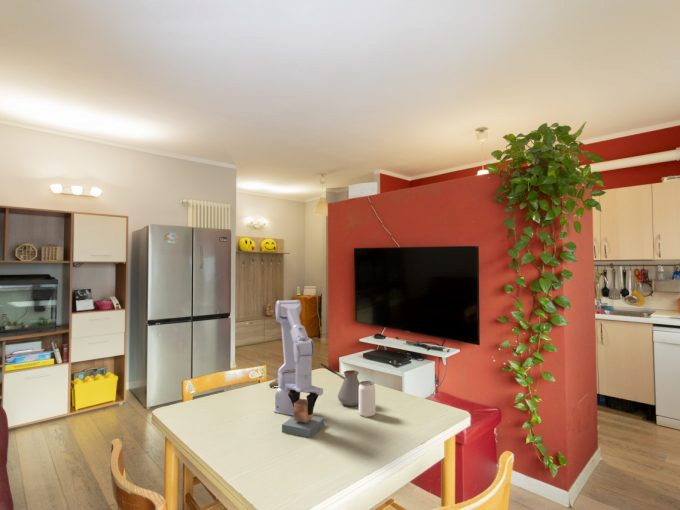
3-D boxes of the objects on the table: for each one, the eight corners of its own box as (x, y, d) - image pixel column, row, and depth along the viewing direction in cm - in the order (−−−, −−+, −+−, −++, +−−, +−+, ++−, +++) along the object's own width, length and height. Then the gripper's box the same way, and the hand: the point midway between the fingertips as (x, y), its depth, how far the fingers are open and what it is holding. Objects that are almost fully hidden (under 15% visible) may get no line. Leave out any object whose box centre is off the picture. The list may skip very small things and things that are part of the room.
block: (293, 420, 129) (293, 403, 129) (300, 415, 133) (300, 398, 134) (306, 422, 127) (306, 405, 127) (313, 417, 131) (313, 400, 132)
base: (281, 431, 127) (281, 424, 127) (297, 419, 137) (297, 413, 137) (309, 437, 123) (309, 430, 123) (324, 424, 133) (324, 417, 133)
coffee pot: (369, 400, 157) (368, 365, 158) (358, 409, 147) (357, 372, 148) (325, 393, 167) (325, 360, 167) (312, 401, 157) (312, 366, 157)
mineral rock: (281, 376, 186) (291, 375, 181) (283, 385, 185) (292, 384, 180) (263, 382, 178) (273, 380, 173) (265, 391, 177) (275, 390, 172)
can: (374, 418, 139) (374, 386, 139) (357, 416, 140) (357, 385, 141) (376, 411, 145) (375, 380, 146) (360, 410, 146) (359, 380, 147)
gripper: (280, 374, 130) (280, 413, 129) (316, 379, 124) (316, 420, 124) (290, 369, 136) (290, 406, 136) (325, 374, 131) (325, 412, 130)
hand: (303, 412), depth 130 cm, fingers open, 5 cm apart
